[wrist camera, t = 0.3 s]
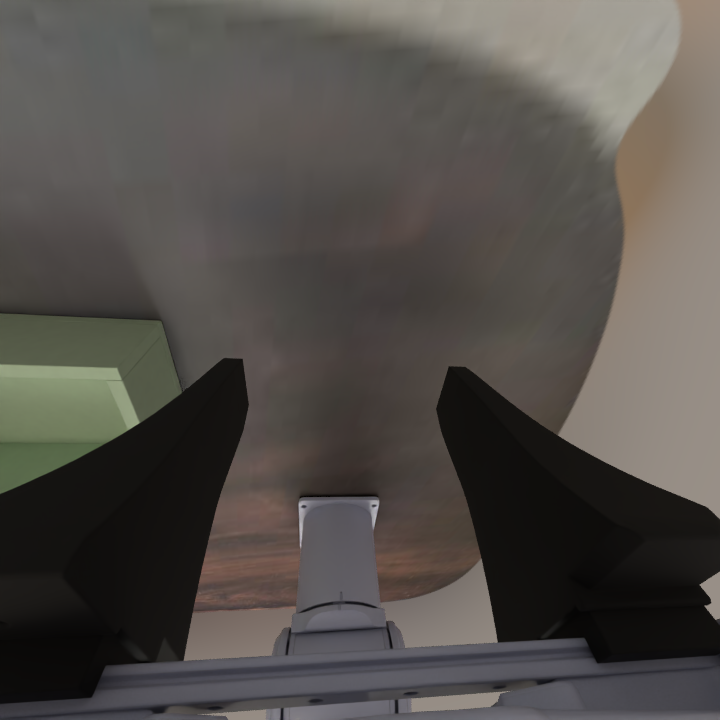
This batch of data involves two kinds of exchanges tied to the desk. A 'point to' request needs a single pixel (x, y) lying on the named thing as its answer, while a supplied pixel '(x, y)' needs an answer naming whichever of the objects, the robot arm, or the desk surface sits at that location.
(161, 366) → the storage bin
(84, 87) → the desk surface
